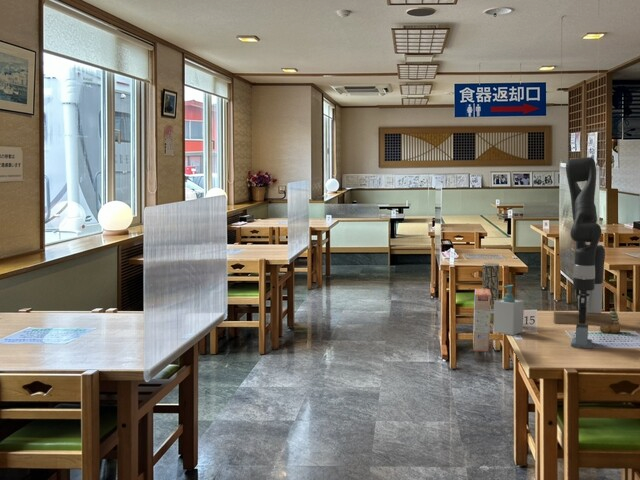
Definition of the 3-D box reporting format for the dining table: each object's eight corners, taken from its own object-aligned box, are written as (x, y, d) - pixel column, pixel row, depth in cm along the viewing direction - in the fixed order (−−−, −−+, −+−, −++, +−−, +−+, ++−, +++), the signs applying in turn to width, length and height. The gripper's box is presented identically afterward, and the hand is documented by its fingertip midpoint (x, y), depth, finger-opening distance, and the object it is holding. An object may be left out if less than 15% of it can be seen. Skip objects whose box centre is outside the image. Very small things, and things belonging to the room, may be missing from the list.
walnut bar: (553, 321, 269) (553, 311, 269) (609, 323, 265) (609, 313, 265) (555, 324, 265) (555, 313, 265) (611, 326, 262) (612, 315, 261)
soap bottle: (492, 332, 285) (494, 285, 283) (503, 328, 292) (505, 282, 290) (512, 335, 279) (514, 287, 278) (523, 332, 286) (524, 285, 284)
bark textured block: (497, 323, 302) (499, 264, 299) (481, 322, 303) (483, 264, 301) (497, 319, 309) (498, 262, 306) (481, 319, 310) (482, 262, 307)
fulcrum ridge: (572, 340, 272) (572, 322, 271) (591, 342, 269) (592, 323, 269) (570, 346, 263) (571, 327, 262) (591, 348, 260) (591, 329, 259)
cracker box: (490, 352, 254) (491, 294, 251) (472, 351, 255) (474, 294, 253) (489, 343, 267) (490, 288, 265) (473, 342, 268) (474, 287, 266)
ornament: (599, 333, 285) (600, 308, 284) (598, 329, 290) (599, 305, 289) (621, 334, 282) (622, 309, 281) (619, 331, 288) (620, 306, 287)
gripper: (574, 273, 271) (572, 317, 273) (572, 278, 258) (570, 325, 260) (595, 274, 269) (593, 319, 270) (594, 280, 255) (592, 326, 257)
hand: (582, 321), depth 265 cm, fingers closed on walnut bar, 4 cm apart
